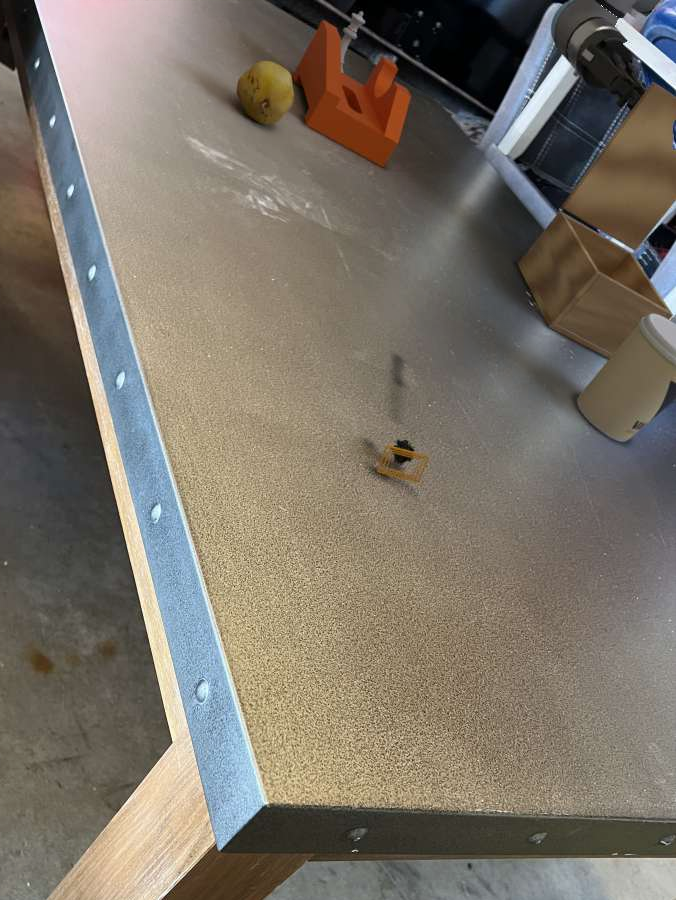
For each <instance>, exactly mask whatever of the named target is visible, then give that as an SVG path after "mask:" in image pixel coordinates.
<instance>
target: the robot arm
mask: <svg viewBox="0 0 676 900" xmlns="http://www.w3.org/2000/svg"><path fill="white" fill-rule="evenodd" d="M659 2H660V0H567V1H566V2H564V3H563V4H562V5H560V6H559V7H558V9H557V10H556V12H555V13H554V15H553V18H552V20H551V24H550V34H551V39H552V40H553V43H554V45H555V47H556V49H557V51H558V52H559V53H560V54H561V55H562V56H563V58H565V59H566V60H567V62H568V63H569V65H571V67H572V68H573V69H574V71H573V77H576V78H580V79H581V80H582V82H584V85H586V86H587V87H588V88H589V89H591V90H594V91H607V90H608V92H609V93H610V94H611V95H614V96H617V97H618V98H619V99H618V100H617V101H616V103H615V105H617V107H619V108H621V109H623V108H624V107H625V106H627V108H628V110H629V111H630V112H631V111H632V109H633V108H634V106H635V105H636V104H637V102H638V101H639V100H640V98H641V97H642V95H643V94H644V93H645V91H646V90H647V89H646V85H645V82H646V81H644V80H643V81H642V82H641V81H640V80H639V77H640V74H639V73H638V72H637V70H636V69H635V65H634V64H633V62H634V52H633V53H632V52H631V51H629V50H628V49H627V48H626V47H625V46H624V45H623V43H625V42H627V41H629V40H628V39H627V38H626V37H625V36H624V35H623V33H622V32H621V31H620V30H619V29H618V28H617V26H616V27H615V25H616V23H617V20H618V19H619V18H623V19H624V18H625V16H626V15H627V13H628V12H629V11H630V10H631V8H632V9H633V10H634V11H636V12H637V13H640V14H641V15H642V16H644V17H646V18H647V16H648V15H649V14H650V13H651V12H652V10H653V9H654V8H655V6H656V5H657V4H658V3H659ZM601 5H602V6H603V7H602V6H601ZM606 9H607V10H606ZM609 11H610V12H611V13H610V12H609ZM613 14H614V15H613ZM616 16H617V17H616Z"/></svg>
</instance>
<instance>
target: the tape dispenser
mask: <svg viewBox="0 0 676 900" xmlns="http://www.w3.org/2000/svg"><path fill="white" fill-rule="evenodd" d="M341 40H342V38H341V35H340V33H339V31H338V28H337V26H334V25H333V24H331V23H329V22H328V21H327V20H325V19H322V20H321V22H320V23H319V25H318V27H317V29H316V31H315V32H314V36H312V39H311V40H310V42H309V44H308V45H307V48H306V50H305V52H304V53H303V55H302V57H301V59H300V61H299V63H298V65H297V67H296V68H295V71H294V72H293V73H292V79H293V82H294V83H295V84H297V85H298V86H300V87H302V88H303V91H304V95H305V98H306V102H307V105H308V110H307V111H306V114H305V115H304V121H305V125H306V126H307V127H309V128H311V129H313V130H315V131H316V132H318V133H320V134H322V135H324V136H325V137H327V138H329V139H331V140H333V141H335V142H336V143H338V144H340V145H342V146H343V147H345V148H347V149H349V150H351V151H353V152H354V153H357V154H358V155H360V156H362V157H363V158H365V159H366V160H369V161H371V162H373V163H374V164H377V165H378V166H380V167H382V168H384V167H385V165H386V163H387V161H388V160H389V159H390V157H391V156H392V154H393V153H394V151H395V149H396V148H397V146H398V144H399V142H400V139H401V134H402V131H403V128H404V125H405V121H406V117H407V113H408V110H409V106H410V102H411V98H412V95H411V93H410V91H409V89H408V88H407V87H405V86H403V85H401V84H400V83H398V82H396V81H394V79H395V78H396V75H397V74H398V71H399V68H398V66H397V64H396V62H394V61H392V60H390V59H389V58H387V57H386V56H384V55H381V57H380V58H379V59H378V62H377V63H376V65H375V67H374V68H373V70H372V72H371V74H370V75H369V77H368V79H367V80H366V82H365V83H364V84H362V83H361V82H359V81H357V80H356V79H354V78H352V77H350V76H349V75H347V74H345V73H344V72H343V73H342V72H341Z"/></svg>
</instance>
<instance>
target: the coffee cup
mask: <svg viewBox="0 0 676 900" xmlns="http://www.w3.org/2000/svg"><path fill="white" fill-rule="evenodd" d="M675 401H676V323H674V322H673V321H672V320H670V319H669V320H668V319H666V318H665V317H663V316H660V315H658V314H649V315H648V316H647V317H643V318H642V319H641V320H640V321H639V324H638V326H637V327H636V328H635V329H634V330H633V331H632V332H631V334H630V335H629V336H628V337H627V338H626V339H625V341H624V342H623V343H622V344H621V345H620V347H619V348H618V349H617V350H616V351H615V353H614V354H613V355H612V356H611V357H610V359H608V360H607V361H606V362H605V363H604V365H603V366H601V368H600V369H599V371H598V372H597V373H596V374H595V375H594V377H593V378H592V379H591V381H590V382H589V383H588V384H587V385H586V387H585V388H584V389H583V390H582V391H581V392H580V394H579V395H578V397H577V399H576V404H577V407H578V409H579V411H580V412H581V414H582V415H583V417H585V419H586V420H587V421H588V422H589V423H590V424H591V425H592V426H593V427H595V428H596V429H597V430H598V432H600V433H602V434H604V435H605V436H607V437H608V438H610V439H611V440H614V441H616V442H621V443H624V442H627V441H628V440H630V439H631V438H632V437H634V436H635V435H636V434H637V433H639V432H640V431H641V430H643V428H644V427H645V426H646V425H648V424H649V423H650V422H651V421H652V420H654V419H655V418H656V417H657V416H659V415H660V414H661V413H662V412H663V411H665V409H667V408H668V407H669V406H670V405H671V404H672V403H673V402H675Z"/></svg>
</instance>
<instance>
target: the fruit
mask: <svg viewBox="0 0 676 900" xmlns="http://www.w3.org/2000/svg"><path fill="white" fill-rule="evenodd" d="M236 83H237V84H236V95H237V97H238V99H239V101H240V103H241V105H242V108H243V110H244V111H245V113H246V115H247V116H249V117H250V118H252V119H253V120H254V121H256V122H257V123H259V124H262V125H273V124H275V123H277V122H279V121H281V119H282V118H283V117H284V116H285V115H286V114H287V113H288V112H289V110H290V109H291V108H292V106H293V104H294V100H295V93H294V86H293V76H292V74H291V72H290V71H289V70H287V69H286V68H285V67H283V66H281V65H280V64H278V63H276V62H273V61H270V60H261V61H259V62H256V63H255V64H254V65H253V66H252V67H250V68H249V69H248V70H246V71H244V73H243V74H242V75H241V76H240V77H239V78H238V80H237V82H236Z"/></svg>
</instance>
